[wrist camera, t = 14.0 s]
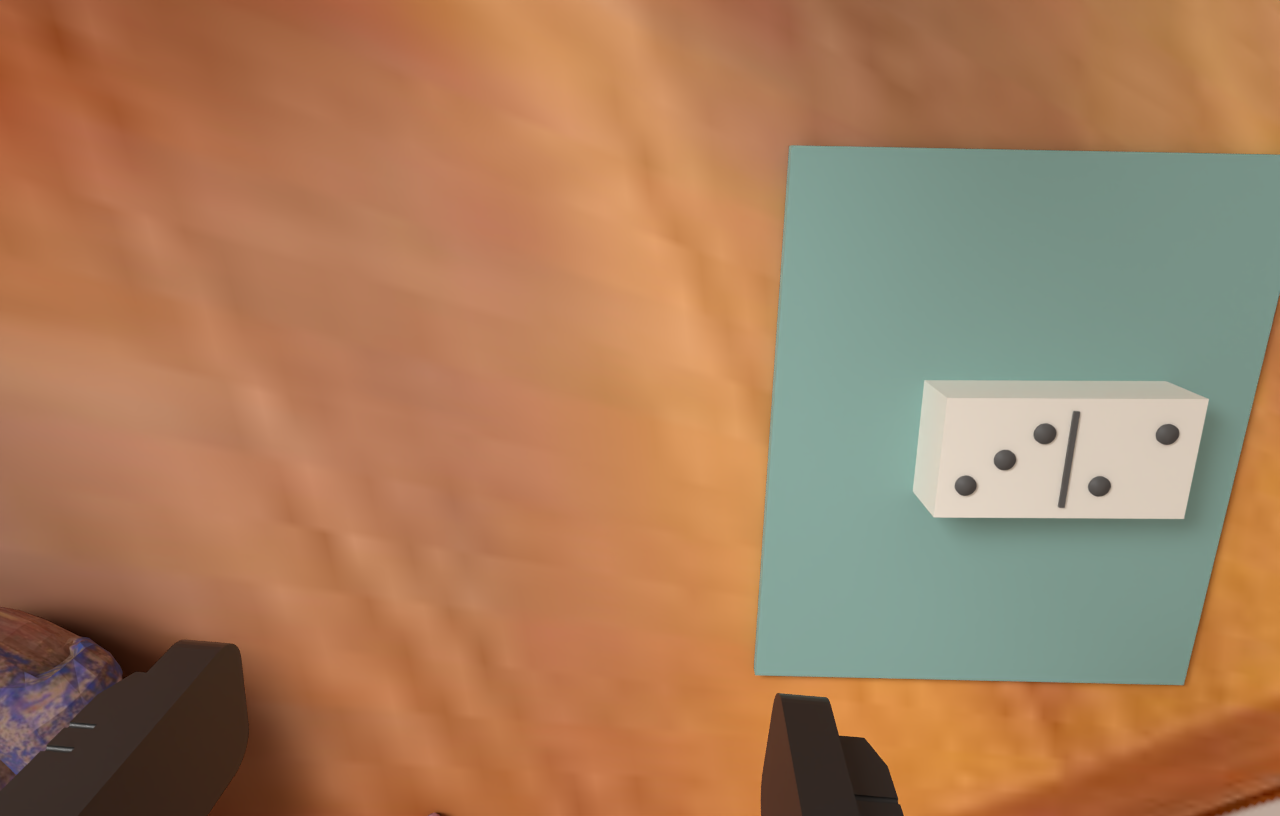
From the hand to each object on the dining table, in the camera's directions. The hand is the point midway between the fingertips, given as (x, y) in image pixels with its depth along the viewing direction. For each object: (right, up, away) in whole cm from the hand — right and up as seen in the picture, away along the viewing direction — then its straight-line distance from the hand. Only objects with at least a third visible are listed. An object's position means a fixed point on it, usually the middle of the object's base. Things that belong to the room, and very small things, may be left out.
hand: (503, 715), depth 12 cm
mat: (+19, +3, +27) cm, 33 cm away
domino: (+15, +3, +25) cm, 29 cm away
